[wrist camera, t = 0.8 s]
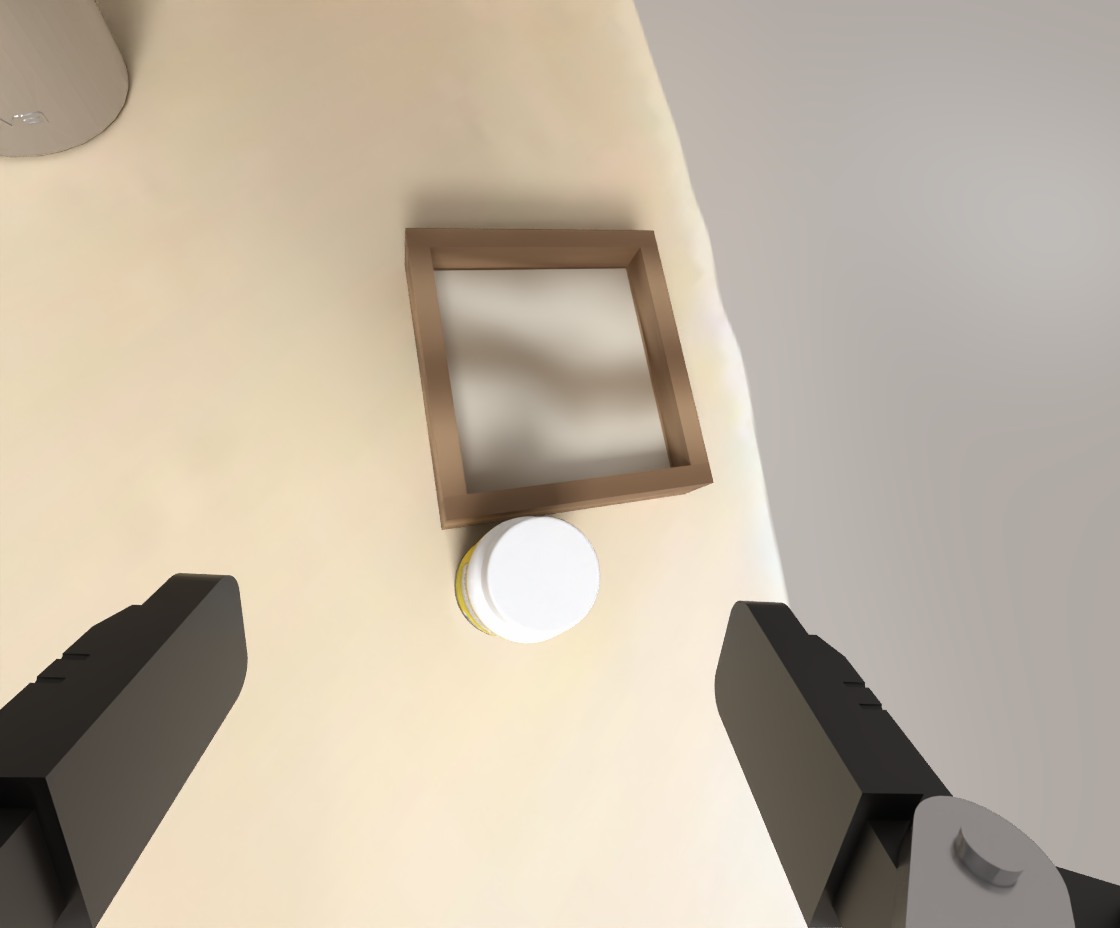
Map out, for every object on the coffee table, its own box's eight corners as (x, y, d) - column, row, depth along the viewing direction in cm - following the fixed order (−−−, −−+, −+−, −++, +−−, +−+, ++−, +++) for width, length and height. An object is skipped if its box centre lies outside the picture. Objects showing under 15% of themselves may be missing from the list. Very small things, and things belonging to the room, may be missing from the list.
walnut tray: (404, 264, 30) (405, 228, 27) (632, 262, 33) (653, 230, 31) (441, 529, 27) (447, 520, 24) (684, 493, 31) (713, 482, 28)
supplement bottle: (541, 526, 28) (597, 494, 20) (561, 623, 27) (627, 628, 19) (444, 544, 27) (464, 517, 19) (462, 647, 26) (490, 663, 18)
